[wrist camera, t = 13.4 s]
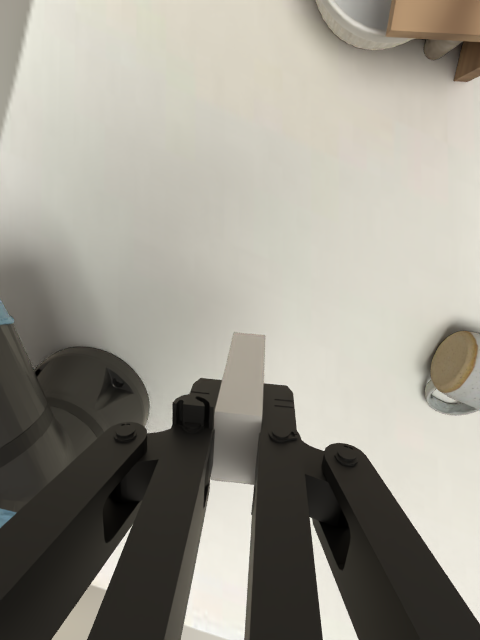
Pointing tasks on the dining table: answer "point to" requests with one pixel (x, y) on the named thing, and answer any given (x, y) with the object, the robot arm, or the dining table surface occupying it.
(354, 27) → the ramekin
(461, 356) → the ceramic mug
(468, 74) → the walnut shelf
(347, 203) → the dining table surface
